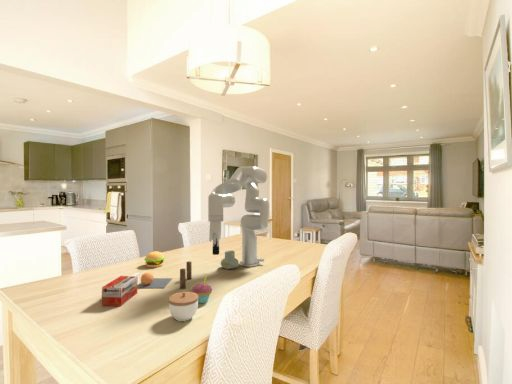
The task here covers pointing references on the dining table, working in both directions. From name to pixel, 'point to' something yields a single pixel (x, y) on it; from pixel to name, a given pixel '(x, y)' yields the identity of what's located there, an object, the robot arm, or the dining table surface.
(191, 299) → the lidded jar
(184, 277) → the post
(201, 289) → the cupcake
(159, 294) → the dining table surface
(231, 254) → the air freshener
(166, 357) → the dining table surface
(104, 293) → the medicine box
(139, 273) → the stopper wall
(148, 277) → the ball
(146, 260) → the hamburger
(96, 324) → the dining table surface
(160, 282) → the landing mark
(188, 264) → the post
